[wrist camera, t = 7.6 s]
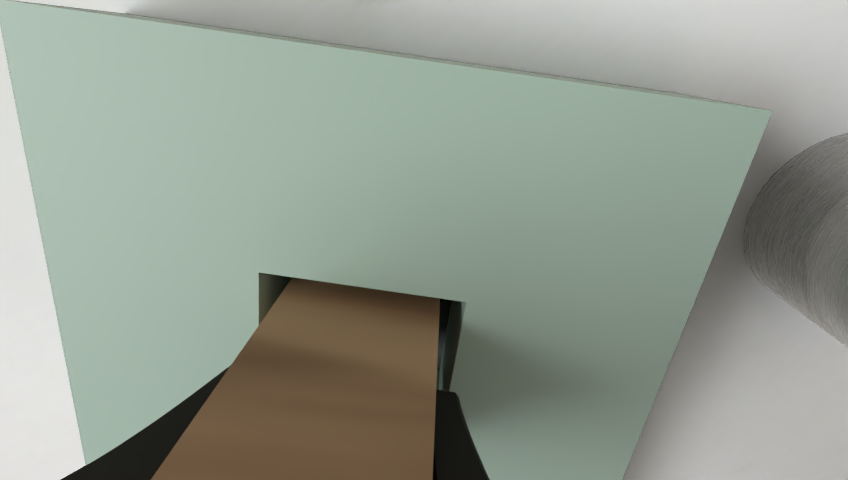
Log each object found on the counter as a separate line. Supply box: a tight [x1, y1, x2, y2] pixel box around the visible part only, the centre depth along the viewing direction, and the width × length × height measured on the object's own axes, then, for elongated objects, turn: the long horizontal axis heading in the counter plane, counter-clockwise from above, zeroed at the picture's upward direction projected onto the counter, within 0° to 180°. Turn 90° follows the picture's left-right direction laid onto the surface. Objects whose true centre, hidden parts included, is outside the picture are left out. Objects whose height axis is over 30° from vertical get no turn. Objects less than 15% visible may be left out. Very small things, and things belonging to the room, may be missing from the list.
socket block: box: [0, 0, 772, 480], centre depth 14 cm, size 16×16×4 cm
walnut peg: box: [151, 277, 440, 480], centre depth 10 cm, size 4×4×8 cm
